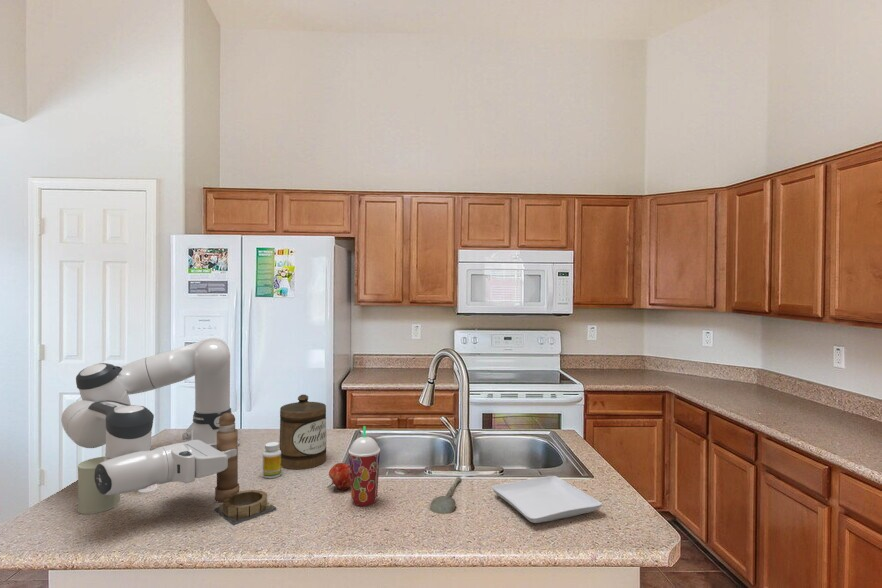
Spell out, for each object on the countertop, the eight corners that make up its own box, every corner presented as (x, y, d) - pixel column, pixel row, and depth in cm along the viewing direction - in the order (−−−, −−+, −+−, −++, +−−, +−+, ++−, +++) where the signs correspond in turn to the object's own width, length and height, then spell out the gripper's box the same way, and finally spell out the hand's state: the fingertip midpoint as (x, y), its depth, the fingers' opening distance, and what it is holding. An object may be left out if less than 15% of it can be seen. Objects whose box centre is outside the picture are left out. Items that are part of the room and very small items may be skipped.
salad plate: (489, 496, 132) (489, 484, 132) (555, 485, 139) (555, 473, 139) (530, 532, 112) (531, 518, 112) (604, 517, 120) (604, 503, 120)
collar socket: (214, 510, 122) (214, 498, 122) (256, 497, 130) (256, 486, 130) (233, 525, 115) (233, 512, 115) (276, 509, 123) (276, 498, 123)
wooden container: (302, 473, 148) (302, 401, 148) (269, 464, 155) (269, 396, 155) (335, 458, 161) (335, 393, 161) (303, 451, 168) (303, 388, 168)
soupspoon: (426, 516, 122) (451, 521, 120) (426, 503, 122) (452, 508, 120) (448, 480, 143) (470, 484, 141) (449, 469, 143) (470, 472, 141)
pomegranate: (329, 501, 133) (357, 481, 132) (314, 478, 134) (342, 458, 133) (339, 493, 140) (366, 474, 139) (326, 472, 141) (352, 452, 141)
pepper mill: (211, 497, 130) (211, 413, 130) (233, 491, 134) (233, 409, 134) (220, 504, 126) (220, 416, 126) (243, 497, 130) (243, 412, 130)
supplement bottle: (260, 474, 146) (260, 443, 146) (277, 470, 150) (277, 440, 150) (266, 480, 142) (266, 448, 142) (284, 476, 146) (284, 444, 146)
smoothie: (385, 496, 131) (385, 423, 131) (372, 510, 123) (372, 432, 123) (356, 493, 133) (356, 421, 133) (342, 506, 125) (342, 429, 125)
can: (127, 503, 127) (127, 457, 127) (87, 517, 119) (87, 469, 119) (109, 495, 131) (109, 452, 131) (70, 508, 123) (70, 462, 123)
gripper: (161, 464, 128) (215, 451, 138) (190, 485, 114) (247, 469, 124) (161, 440, 128) (215, 429, 138) (190, 458, 114) (247, 445, 124)
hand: (230, 448), depth 131 cm, fingers closed on pepper mill, 5 cm apart
